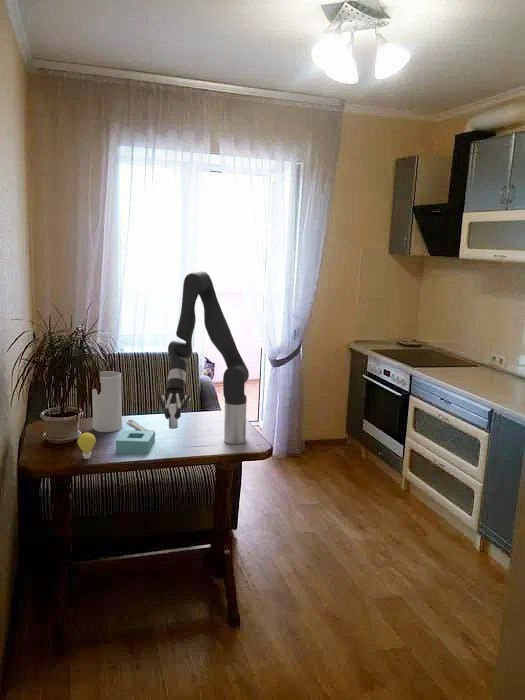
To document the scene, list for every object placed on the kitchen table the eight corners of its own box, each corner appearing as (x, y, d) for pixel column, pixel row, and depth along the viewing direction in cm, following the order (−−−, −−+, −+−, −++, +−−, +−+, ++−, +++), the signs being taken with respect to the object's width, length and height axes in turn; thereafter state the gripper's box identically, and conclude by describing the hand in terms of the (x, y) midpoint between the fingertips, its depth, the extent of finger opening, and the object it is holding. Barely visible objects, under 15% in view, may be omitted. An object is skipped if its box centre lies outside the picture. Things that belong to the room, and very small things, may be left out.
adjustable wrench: (126, 423, 263) (126, 419, 263) (139, 421, 266) (139, 418, 266) (143, 439, 242) (143, 435, 242) (157, 437, 245) (157, 433, 245)
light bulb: (96, 460, 216) (95, 435, 214) (77, 461, 214) (77, 436, 212) (96, 454, 222) (95, 429, 220) (78, 455, 220) (77, 430, 218)
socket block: (154, 442, 237) (154, 431, 236) (148, 453, 224) (148, 441, 223) (124, 441, 237) (123, 430, 236) (116, 452, 224) (115, 440, 223)
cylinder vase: (122, 423, 261) (121, 371, 256) (122, 432, 249) (121, 377, 244) (93, 425, 258) (92, 371, 253) (92, 433, 246) (91, 378, 241)
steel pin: (178, 426, 231) (177, 402, 229) (177, 428, 227) (176, 404, 226) (169, 426, 231) (169, 402, 229) (168, 428, 227) (167, 404, 226)
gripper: (158, 377, 233) (153, 413, 223) (192, 377, 233) (188, 413, 223) (161, 386, 239) (156, 422, 229) (194, 386, 239) (190, 422, 229)
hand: (172, 418), depth 226 cm, fingers closed on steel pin, 3 cm apart
